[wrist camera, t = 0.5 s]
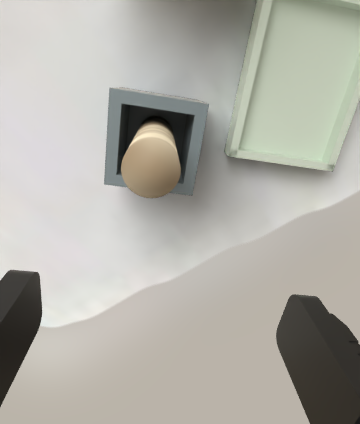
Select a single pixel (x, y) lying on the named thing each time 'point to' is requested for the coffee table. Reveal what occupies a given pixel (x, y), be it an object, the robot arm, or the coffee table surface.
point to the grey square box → (144, 108)
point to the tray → (297, 83)
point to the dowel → (152, 160)
